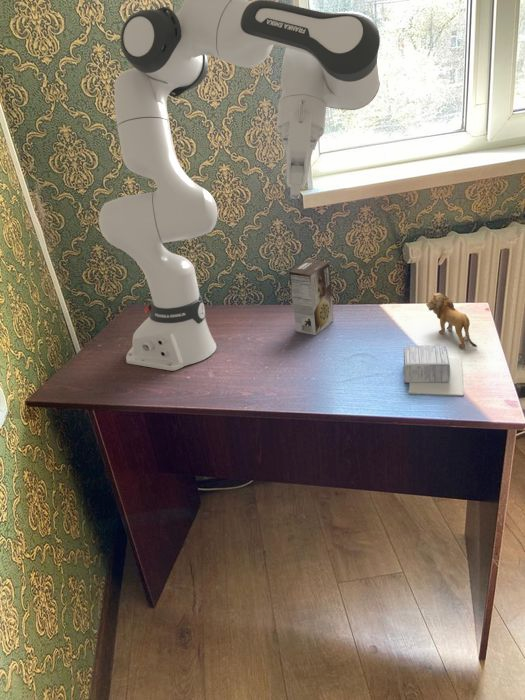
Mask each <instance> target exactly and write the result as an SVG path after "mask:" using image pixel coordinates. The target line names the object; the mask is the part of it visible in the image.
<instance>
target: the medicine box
mask: <svg viewBox="0 0 525 700" xmlns="http://www.w3.org/2000/svg"><path fill="white" fill-rule="evenodd" d="M449 358H450V357H449V353H448V348H447V345H446V344H445V345H441V344H440V345H439V344H438V345H437V344H436V345H435V344H434V345H433V344H430V345H426V344H425V345H403V369H404V370H403V374H404V378H403V379H404V382H405V383H407V384H408V383H409V384H410V383H414V382H417V383H418V382H449V381H450V363H449Z"/></svg>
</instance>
